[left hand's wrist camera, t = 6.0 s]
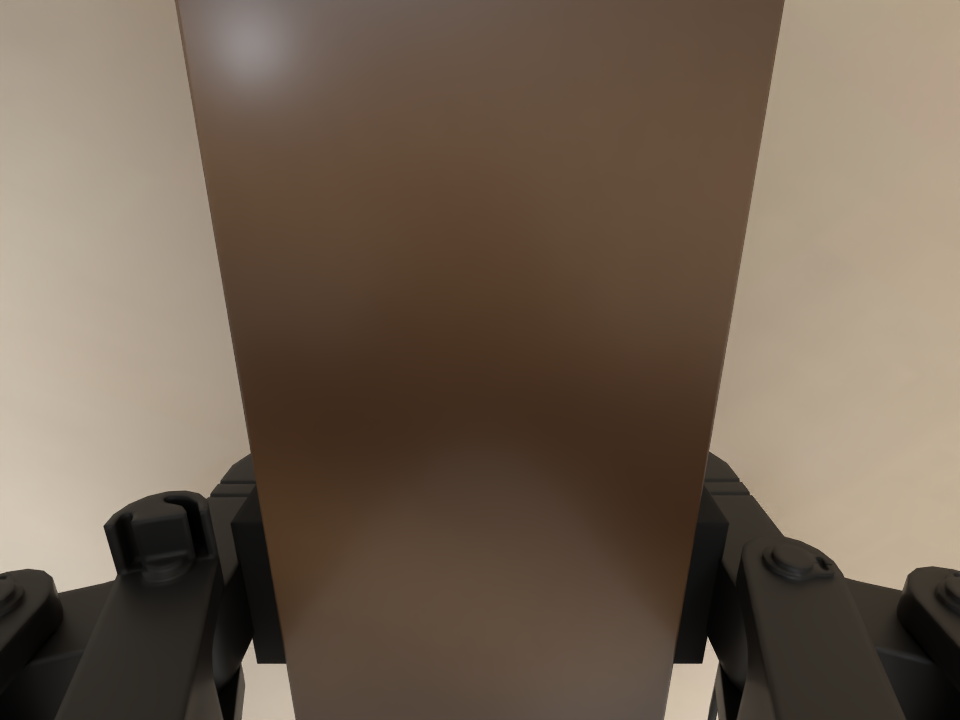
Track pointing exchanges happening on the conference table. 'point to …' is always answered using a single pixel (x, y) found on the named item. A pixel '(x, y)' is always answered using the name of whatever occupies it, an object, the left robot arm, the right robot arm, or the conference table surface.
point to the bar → (479, 330)
